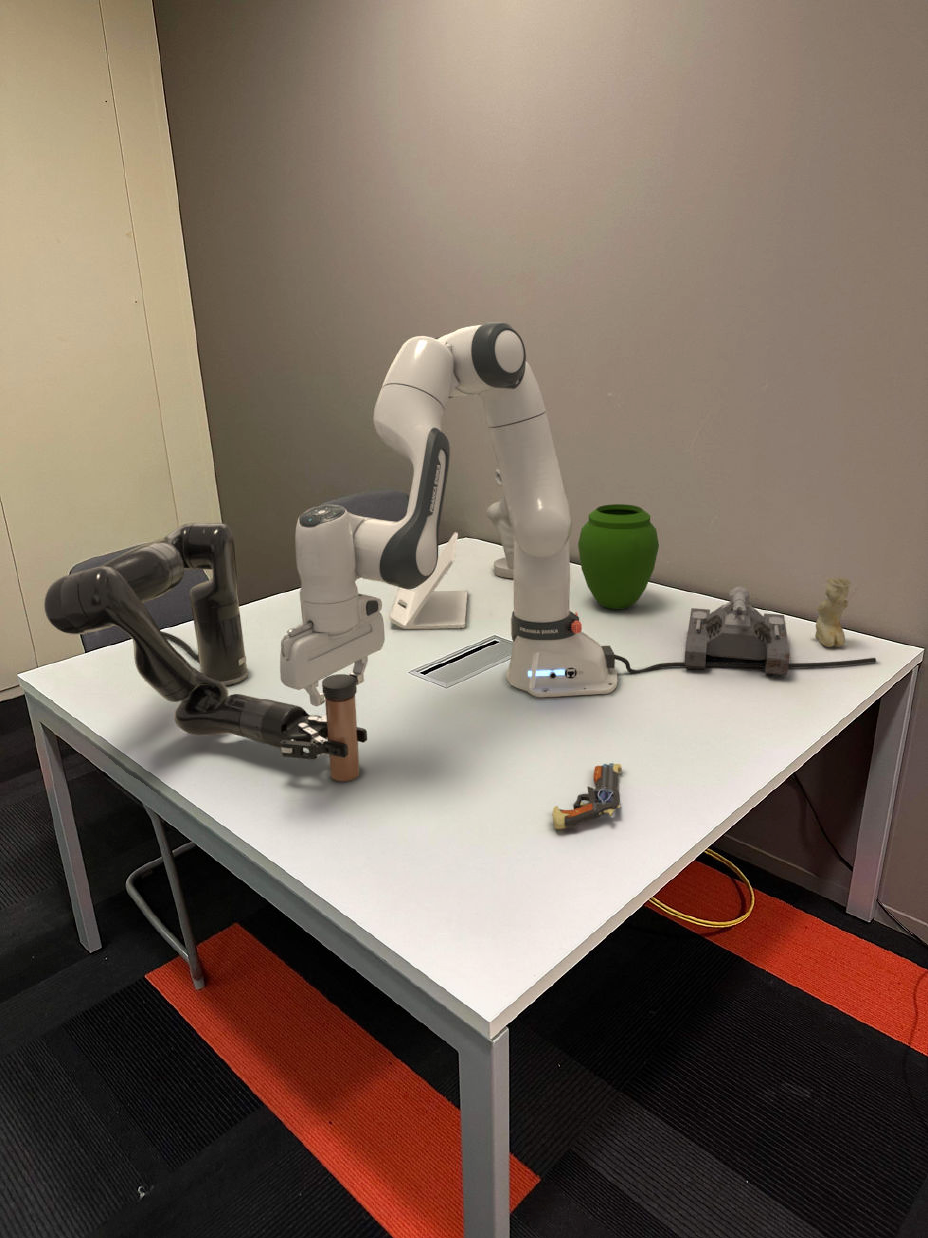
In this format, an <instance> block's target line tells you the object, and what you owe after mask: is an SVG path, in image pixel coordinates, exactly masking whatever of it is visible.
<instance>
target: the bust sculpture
mask: <svg viewBox="0 0 928 1238" xmlns="http://www.w3.org/2000/svg"><path fill="white" fill-rule="evenodd" d="M494 480H495V482H496V484H497V486H498V487H501V488H502V489H503V487H502V482H501V477H500V471H499V467H498V463H497V462H496V468H495V471H494ZM485 514H486V517H487V518H488V519H489V520H490V522H491V523H492V524H493V526H494V527H495V529H496V532H497V534H498V537H499V540H500V542H501V546H502V548H503V553H504V557H502V558H498V559H496V560H495V561H494V562H493V573H494V574H495V575H496V576H497V577H500V578H506V579H514V576H513V574H514V535H513V532H512V528H511V523H510V519H509V515H508V510H507V506H506V501H505V496H504V492H503V491H502V494H501V497H500V499H499V501H496V502H494V503H492V504H491V505H490V506H488V508H487V509H486V513H485Z"/></svg>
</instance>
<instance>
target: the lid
mask: <svg viewBox="0 0 928 1238" xmlns="http://www.w3.org/2000/svg"><path fill="white" fill-rule="evenodd" d="M321 686H322V687H321V689H322V693H324V698H325V697H326V698H328V699H332V700H343V699H348V698H350V697H352V696H354V695H355V696H356V694H357V692H358V691H357V690H358V689H357V685H356V679H355V678H354V677H353V676H351V675H350V674H345V673H339V674H338V673H337V674H331V675H329V676H327V677H325V678H323V679H322V681H321Z"/></svg>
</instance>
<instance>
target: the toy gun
mask: <svg viewBox="0 0 928 1238" xmlns="http://www.w3.org/2000/svg"><path fill="white" fill-rule="evenodd" d="M622 767H623V766H622V765H621V764H620V763H614V762H613V763H612V762H610V763H609V764H607V763H604V764H602V765H596V766H594V770H593V776H592V777H593V782H594V783H595V784H596V787H595V788H593V787H591V786H587V793H581V794H578V795H577V797H576V801H575V802H574V803H573V804H572V806H573V809H561V808H559V806H558V805H555V806H554V807H553V809H552V822H553V826H554V829H555V830H564V829H566V828H569V827H570V828H571V827H574V826H577V825H580V824H583V823H585V822H588V821H592V820H595V819H598V818H601V817H602V816H605V815H606V814H608V816H609V817H612V816H613V814H614V813H615V811H616V810H617V809H618V808H621V795H620V791H619V788H618V785H619V773H621V772H623V768H622ZM597 800H598V802H597ZM583 801H587V803H583Z"/></svg>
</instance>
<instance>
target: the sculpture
mask: <svg viewBox="0 0 928 1238" xmlns="http://www.w3.org/2000/svg"><path fill="white" fill-rule="evenodd" d="M826 581H827V586H826V588H825V590H824V593H825V595H826V596H827V598H826V600H824V601H822V602H821V603H820V604H819V605H818V606H817V609H816V610H817V612H818V614H819V616H818V617H817V619H816V623H815V630H816V631H815V634H814V635H815V639H817V640H819V642H820V643H821V644H822V645H823V646H825V647H827V648H832V647H834V646H835V647H843V646H844V645H845V643H846V642H845V641H846V636H845V632H844V630H843V626H842V624H841V622H840V621H841V617H842V615H843V612H844V610H845V609H846V608H847V606H848V604H849V603H848V602H849V601H847V598H848V597H849V592H850V586H851V585H852V582H850V580H848V579H847V578H845V577H841V576H840V577H835V578H831V577H827V578H826Z"/></svg>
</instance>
